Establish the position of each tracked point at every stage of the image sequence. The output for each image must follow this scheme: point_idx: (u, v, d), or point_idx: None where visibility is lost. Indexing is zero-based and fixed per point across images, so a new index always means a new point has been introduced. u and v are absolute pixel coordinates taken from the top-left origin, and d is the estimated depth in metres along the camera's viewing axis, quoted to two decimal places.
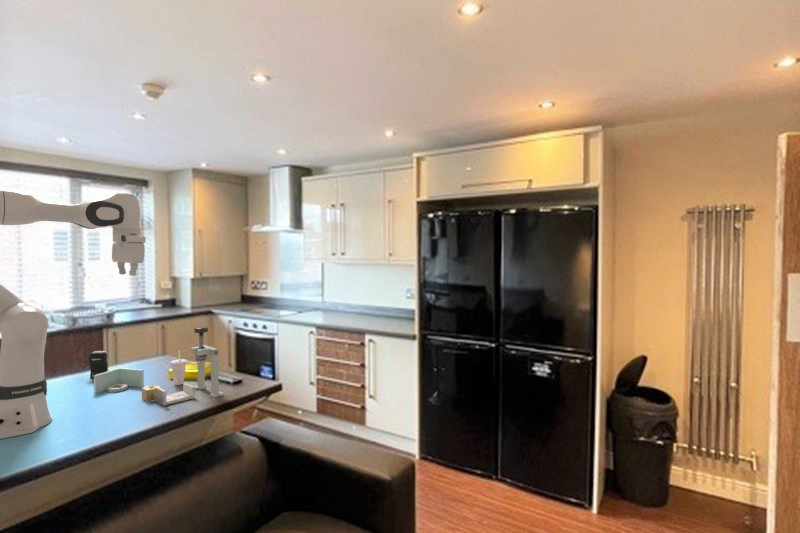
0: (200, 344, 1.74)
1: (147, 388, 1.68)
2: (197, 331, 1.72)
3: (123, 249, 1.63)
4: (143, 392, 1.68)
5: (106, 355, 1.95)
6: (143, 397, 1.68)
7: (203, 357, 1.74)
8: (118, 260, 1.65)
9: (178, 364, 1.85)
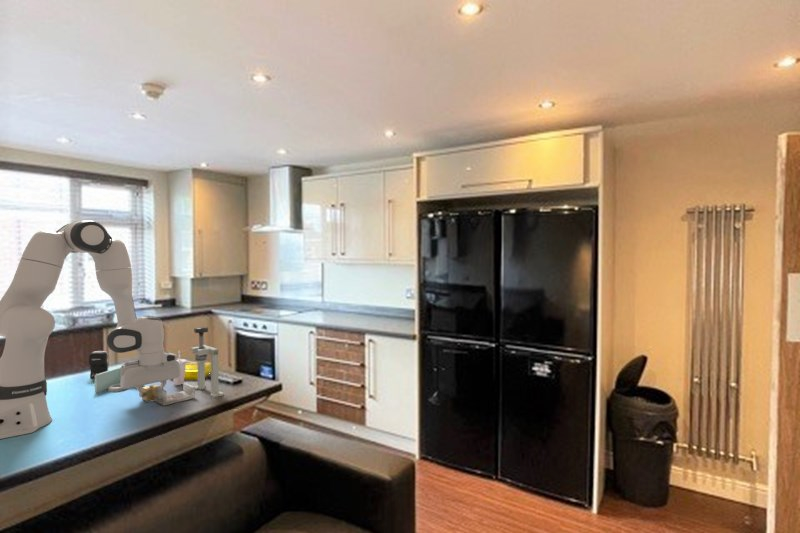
0: (200, 344, 1.74)
1: (147, 388, 1.68)
2: (197, 331, 1.72)
3: (155, 370, 1.68)
4: None
5: (106, 355, 1.95)
6: (143, 397, 1.68)
7: (203, 357, 1.74)
8: (143, 383, 1.65)
9: None
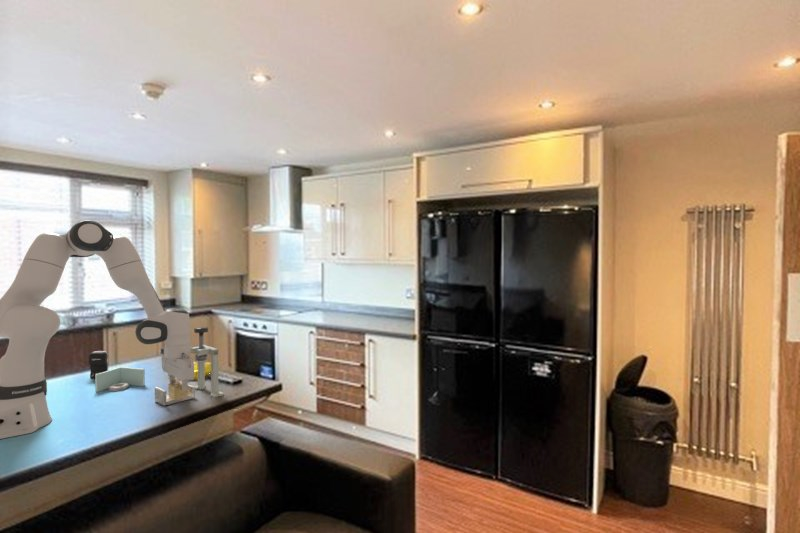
0: (200, 344, 1.74)
1: (180, 384, 1.68)
2: (197, 331, 1.72)
3: None
4: (178, 389, 1.66)
5: (106, 355, 1.95)
6: (178, 394, 1.66)
7: (203, 357, 1.74)
8: None
9: None
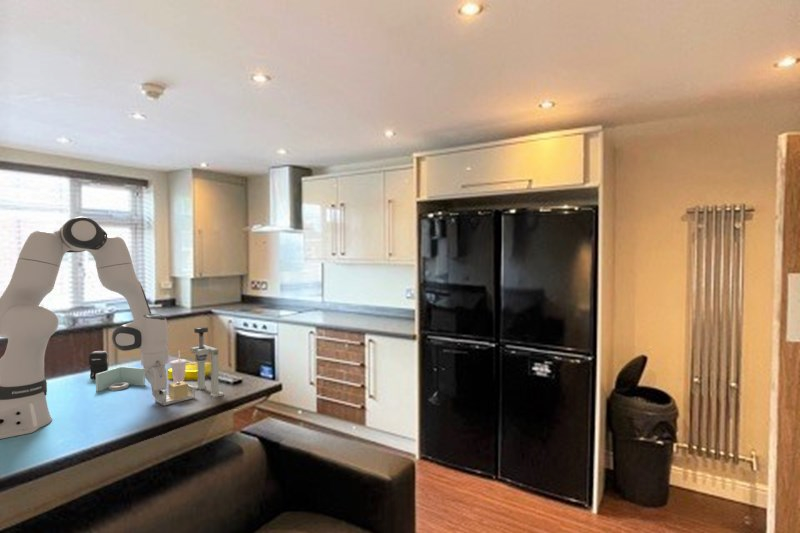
0: (200, 344, 1.74)
1: (180, 384, 1.68)
2: (197, 331, 1.72)
3: None
4: (178, 389, 1.66)
5: (106, 355, 1.95)
6: (178, 394, 1.66)
7: (203, 357, 1.74)
8: None
9: (178, 364, 1.85)
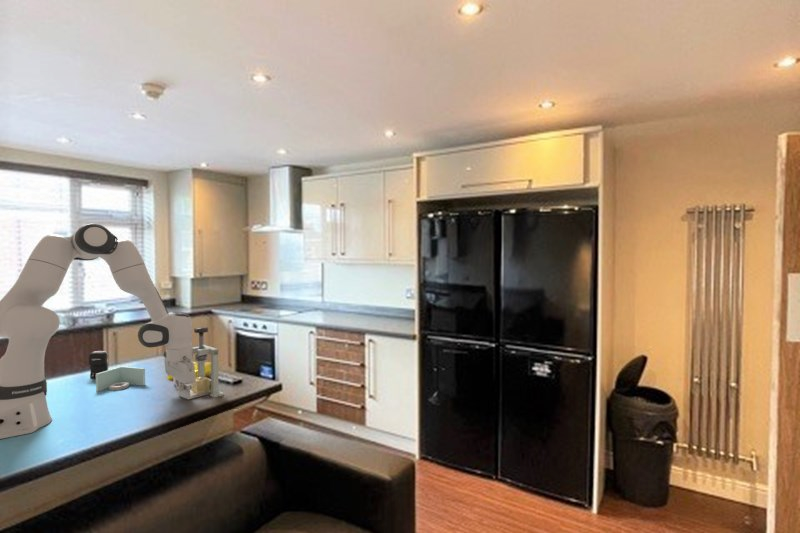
0: (200, 344, 1.74)
1: (202, 379, 1.75)
2: (197, 331, 1.72)
3: None
4: (201, 383, 1.73)
5: (106, 355, 1.95)
6: (201, 389, 1.73)
7: (203, 357, 1.74)
8: None
9: None
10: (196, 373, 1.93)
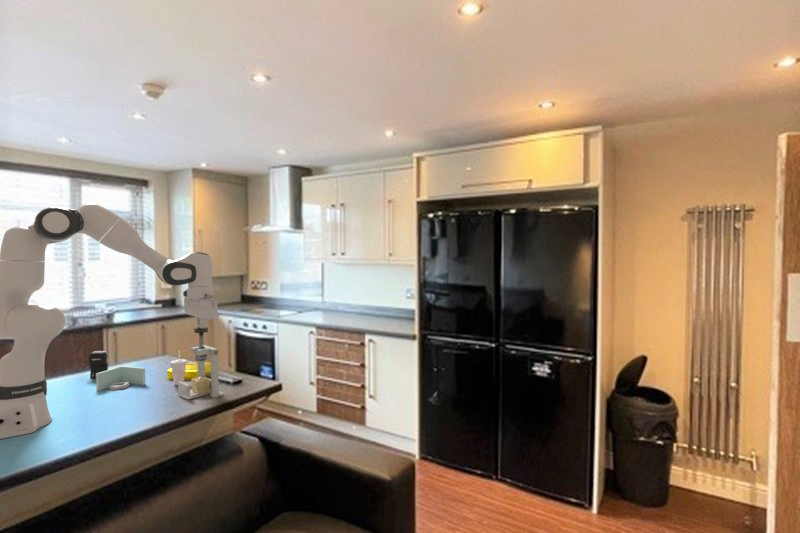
0: (200, 344, 1.74)
1: (202, 379, 1.75)
2: (197, 331, 1.72)
3: None
4: (201, 383, 1.73)
5: (106, 355, 1.95)
6: (201, 389, 1.73)
7: (203, 357, 1.74)
8: None
9: (178, 364, 1.85)
10: (196, 373, 1.93)
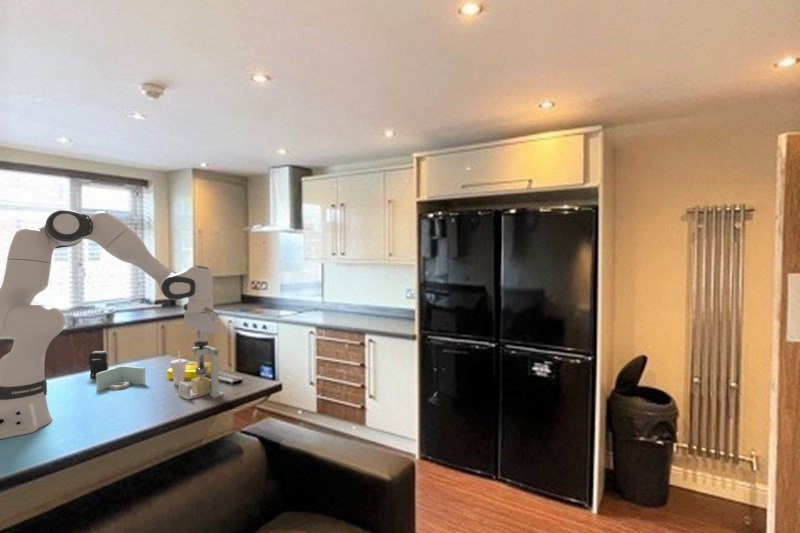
0: (200, 358, 1.75)
1: (202, 379, 1.75)
2: (197, 345, 1.73)
3: None
4: (201, 383, 1.73)
5: (106, 355, 1.95)
6: (201, 389, 1.73)
7: (203, 371, 1.74)
8: None
9: (178, 364, 1.85)
10: None
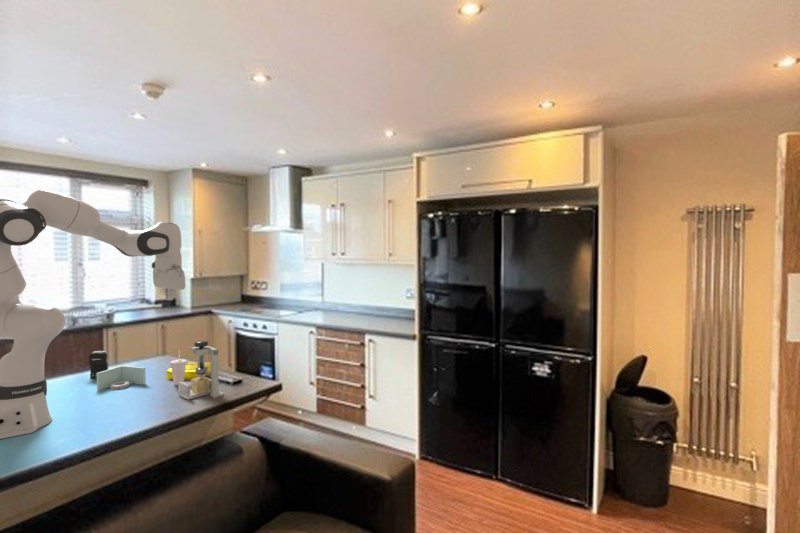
0: (200, 358, 1.75)
1: (202, 379, 1.75)
2: (197, 345, 1.73)
3: None
4: (201, 383, 1.73)
5: (106, 355, 1.95)
6: (201, 389, 1.73)
7: (203, 371, 1.74)
8: None
9: (178, 364, 1.85)
10: None
